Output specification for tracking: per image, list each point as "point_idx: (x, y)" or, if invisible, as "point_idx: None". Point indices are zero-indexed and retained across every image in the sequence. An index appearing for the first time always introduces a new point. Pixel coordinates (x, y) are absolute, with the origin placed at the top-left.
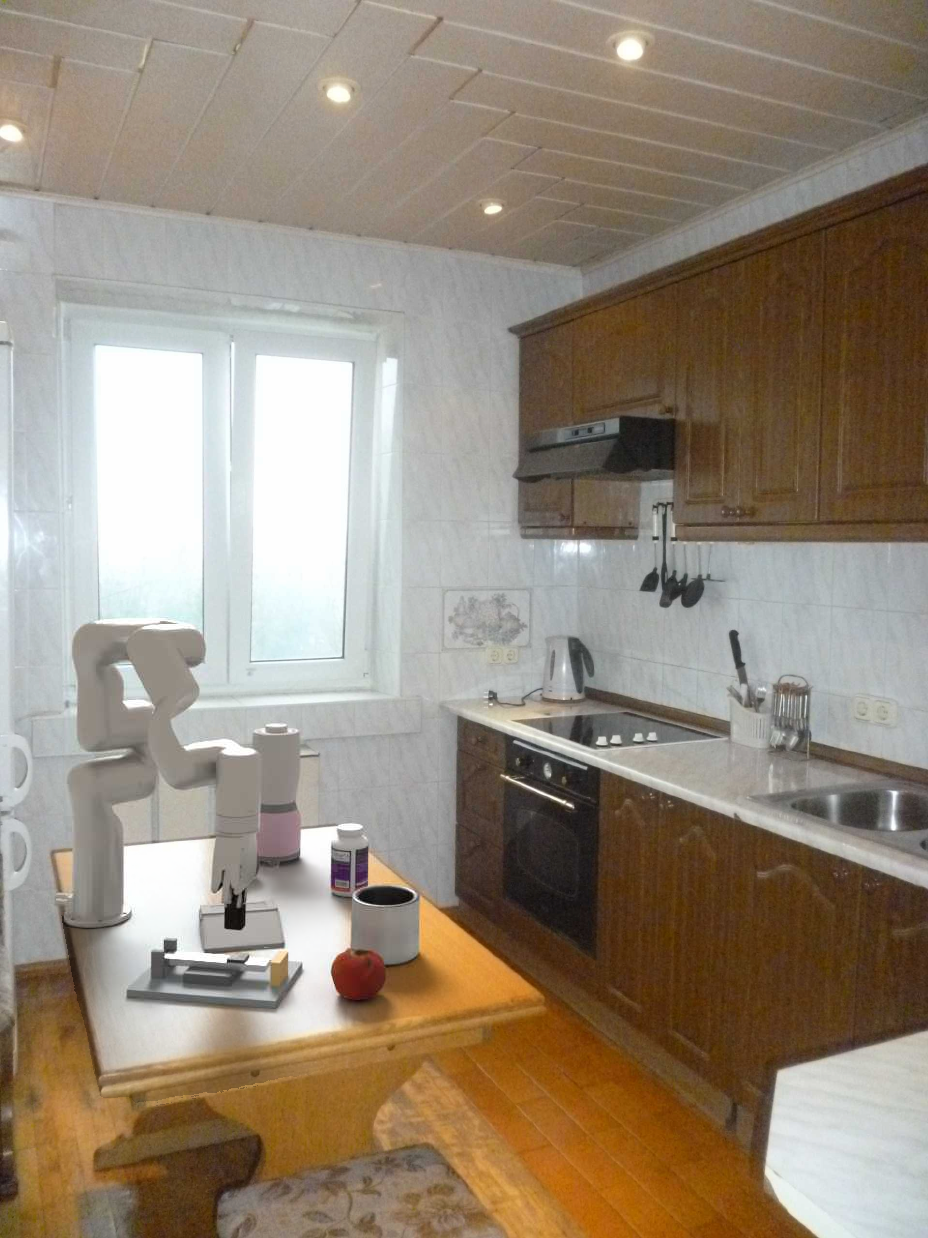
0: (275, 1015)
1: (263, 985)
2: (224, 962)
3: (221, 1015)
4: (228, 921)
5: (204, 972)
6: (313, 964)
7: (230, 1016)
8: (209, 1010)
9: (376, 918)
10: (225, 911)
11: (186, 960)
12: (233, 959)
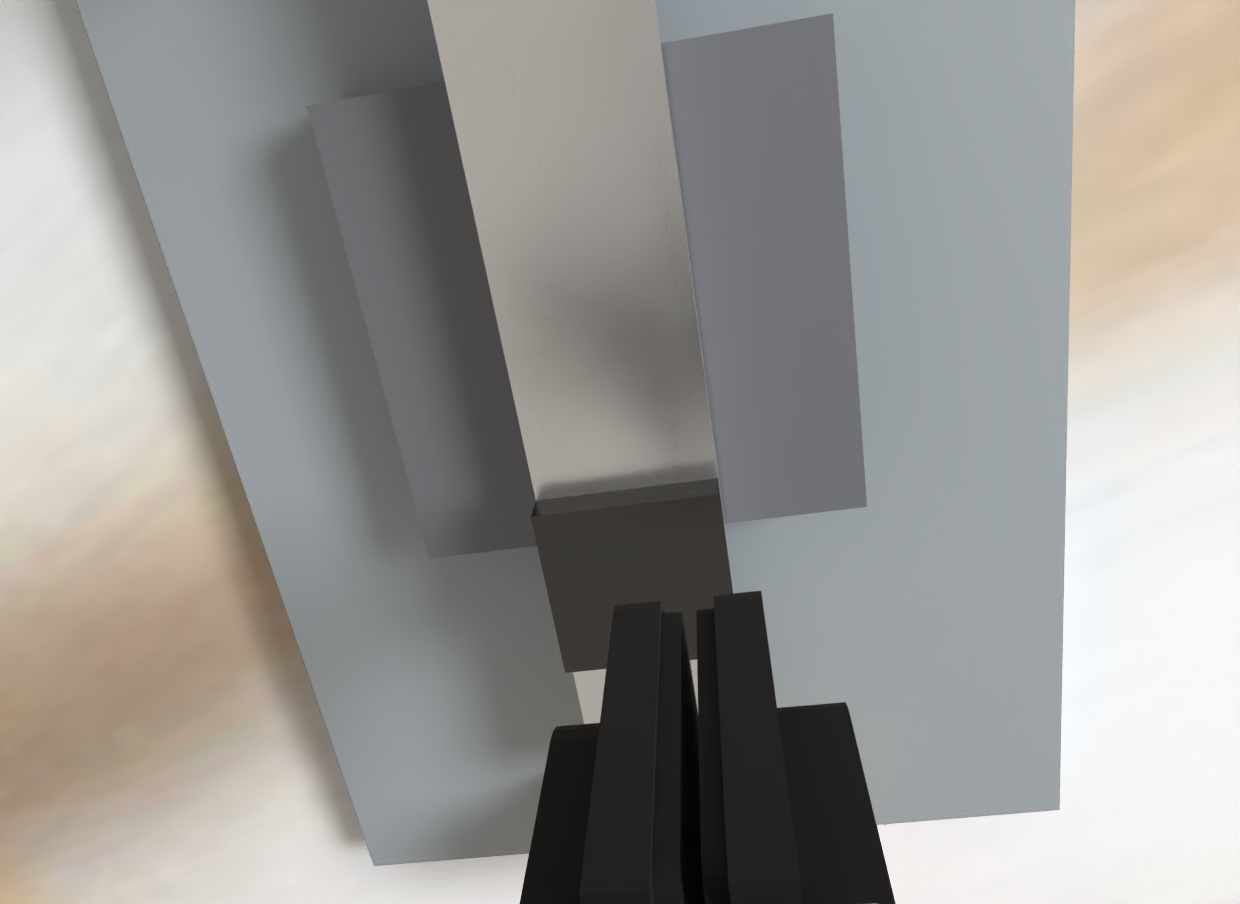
0: (313, 853)
1: (566, 722)
2: (534, 481)
3: (149, 584)
4: (546, 779)
5: (409, 308)
6: (1141, 807)
7: (168, 639)
8: (168, 479)
9: None
10: (592, 818)
11: (438, 45)
12: (548, 582)
